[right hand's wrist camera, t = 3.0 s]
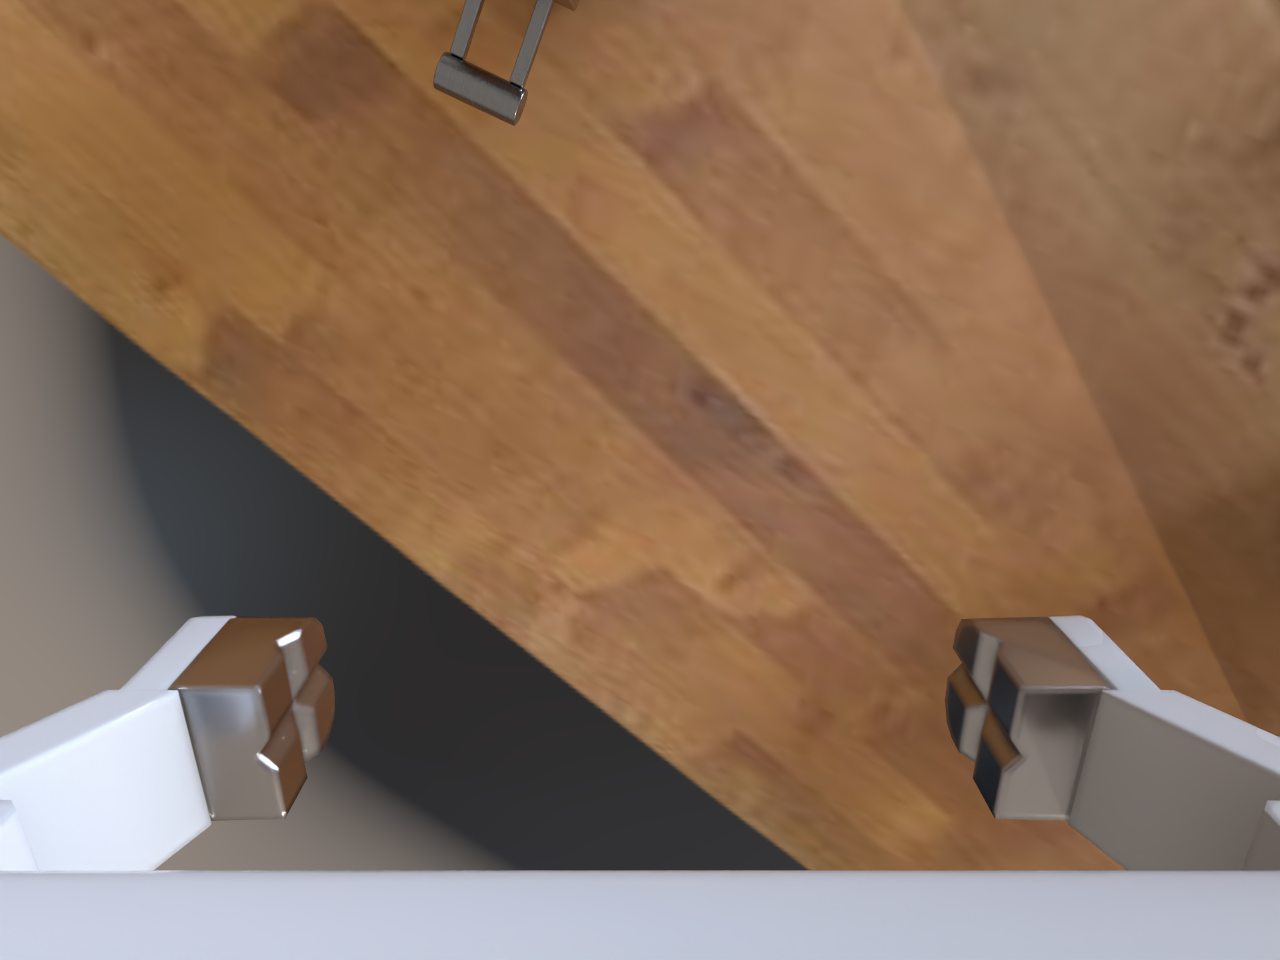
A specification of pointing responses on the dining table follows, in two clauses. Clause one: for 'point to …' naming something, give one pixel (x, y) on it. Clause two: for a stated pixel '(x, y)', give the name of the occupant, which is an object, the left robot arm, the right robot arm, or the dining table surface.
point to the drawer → (483, 85)
